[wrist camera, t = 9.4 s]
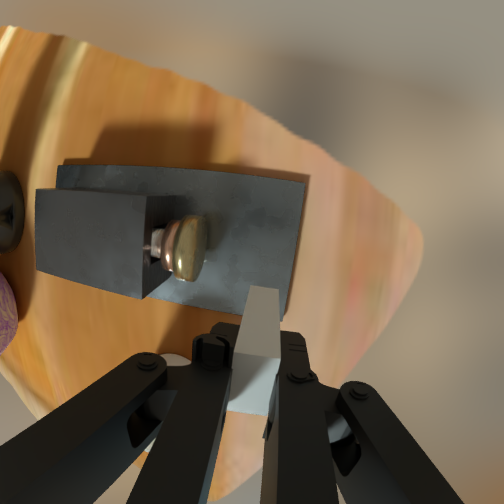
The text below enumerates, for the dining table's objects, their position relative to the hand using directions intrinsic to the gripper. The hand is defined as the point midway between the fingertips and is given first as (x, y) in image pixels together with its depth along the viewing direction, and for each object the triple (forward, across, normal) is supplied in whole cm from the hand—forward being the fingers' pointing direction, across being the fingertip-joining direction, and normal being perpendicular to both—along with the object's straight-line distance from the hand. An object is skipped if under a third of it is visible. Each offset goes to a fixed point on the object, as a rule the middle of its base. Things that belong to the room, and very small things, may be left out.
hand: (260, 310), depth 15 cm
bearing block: (+17, -14, 0) cm, 22 cm away
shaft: (+16, -17, 0) cm, 24 cm away
